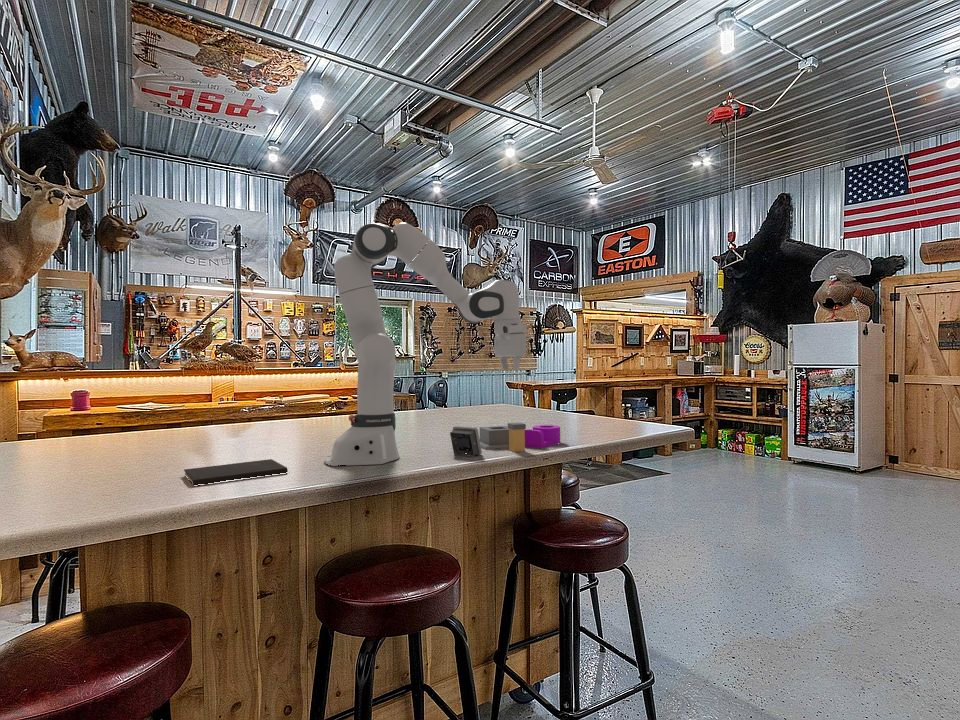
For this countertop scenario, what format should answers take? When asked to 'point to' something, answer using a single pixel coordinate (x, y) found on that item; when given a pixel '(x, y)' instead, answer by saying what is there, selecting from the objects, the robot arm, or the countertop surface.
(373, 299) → the robot arm
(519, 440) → the tan jar
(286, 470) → the hardcover book
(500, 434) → the socket
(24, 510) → the countertop surface
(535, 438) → the tape dispenser
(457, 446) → the electrical switch
